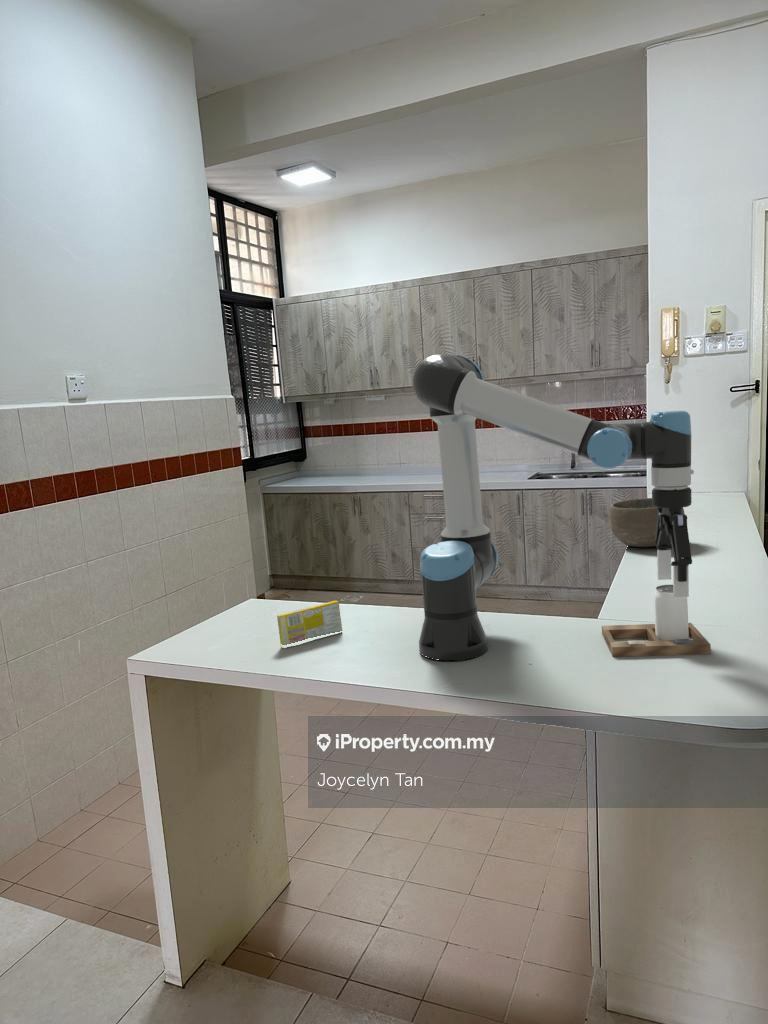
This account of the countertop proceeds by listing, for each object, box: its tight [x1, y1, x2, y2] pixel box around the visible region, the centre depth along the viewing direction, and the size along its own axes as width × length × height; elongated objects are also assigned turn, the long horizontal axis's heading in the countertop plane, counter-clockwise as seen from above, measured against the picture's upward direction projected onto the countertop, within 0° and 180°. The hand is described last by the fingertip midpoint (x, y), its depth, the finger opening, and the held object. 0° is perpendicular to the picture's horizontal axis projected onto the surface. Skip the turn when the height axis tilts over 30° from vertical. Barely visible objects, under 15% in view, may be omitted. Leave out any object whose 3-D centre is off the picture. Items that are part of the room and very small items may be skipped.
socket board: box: [601, 622, 712, 658], centre depth 149 cm, size 19×14×2 cm
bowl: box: [608, 497, 686, 548], centre depth 242 cm, size 24×24×15 cm
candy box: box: [276, 600, 343, 645], centre depth 171 cm, size 16×2×8 cm, turn 123°
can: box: [653, 584, 690, 641], centre depth 148 cm, size 6×6×12 cm
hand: (672, 587), depth 147 cm, fingers open, 13 cm apart
